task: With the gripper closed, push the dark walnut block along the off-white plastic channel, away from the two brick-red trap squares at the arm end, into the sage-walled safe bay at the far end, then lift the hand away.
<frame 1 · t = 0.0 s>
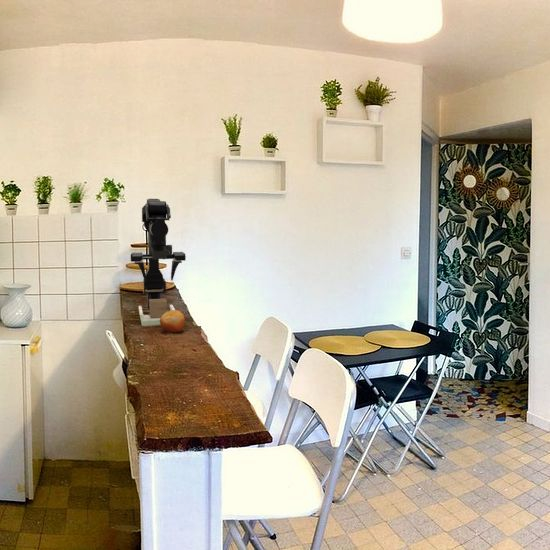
hand: (158, 280, 182), 15 cm above the breakfast bar, fingers open, 9 cm apart
trap channel: (158, 318, 190), on the breakfast bar
fruit: (172, 332, 168), on the breakfast bar
walnut block: (158, 316, 189), point 1 cm above the breakfast bar, touching trap channel
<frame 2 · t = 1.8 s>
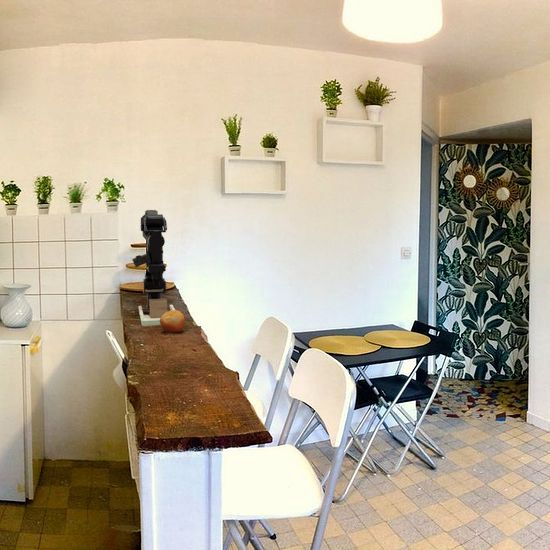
hand: (155, 287, 197), 10 cm above the breakfast bar, fingers closed
nothing on the breakfast bar moved.
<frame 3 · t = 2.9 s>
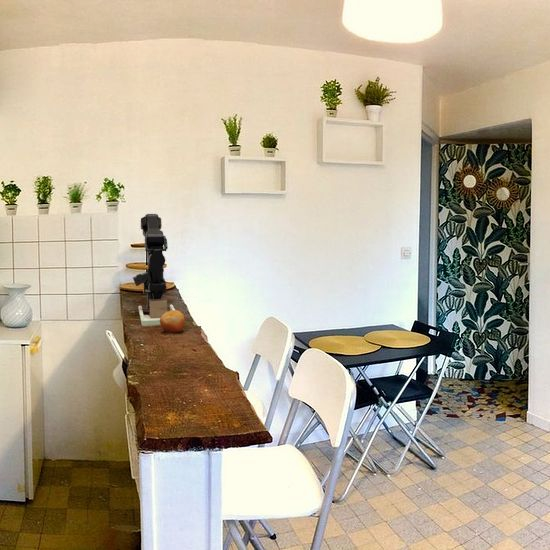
hand: (156, 306, 197), 3 cm above the breakfast bar, fingers closed
nothing on the breakfast bar moved.
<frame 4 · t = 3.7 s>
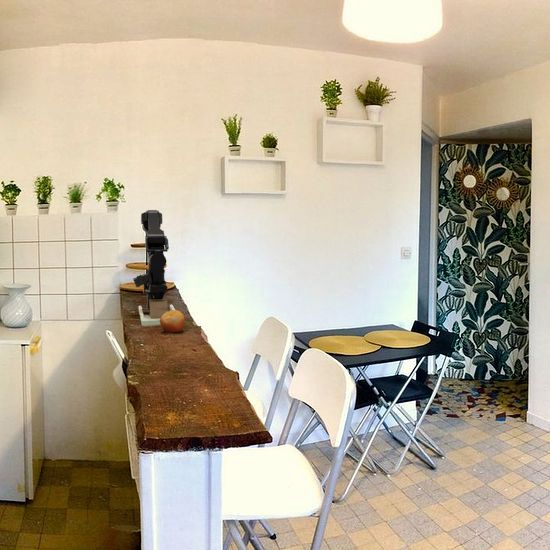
hand: (157, 307, 193), 3 cm above the breakfast bar, fingers closed
walnut block: (158, 316, 188), point 1 cm above the breakfast bar, touching gripper
everything else where it was.
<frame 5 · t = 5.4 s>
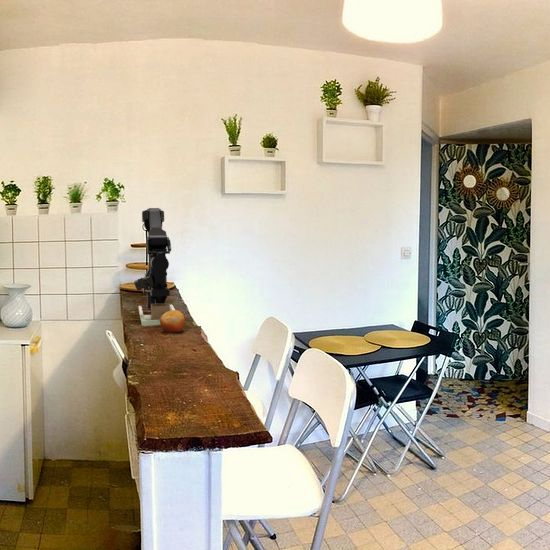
hand: (159, 312, 184), 3 cm above the breakfast bar, fingers closed
walnut block: (160, 321, 180), point 1 cm above the breakfast bar, touching gripper, trap channel
everything else where it was.
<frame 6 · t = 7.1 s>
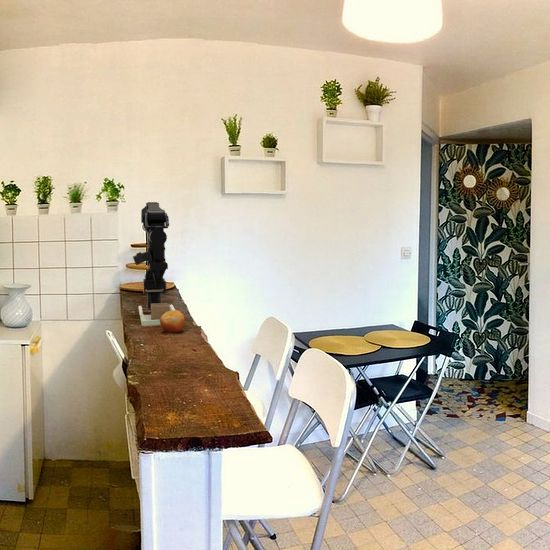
hand: (157, 286, 188), 12 cm above the breakfast bar, fingers closed
walnut block: (160, 321, 180), point 1 cm above the breakfast bar, touching trap channel
everything else where it was.
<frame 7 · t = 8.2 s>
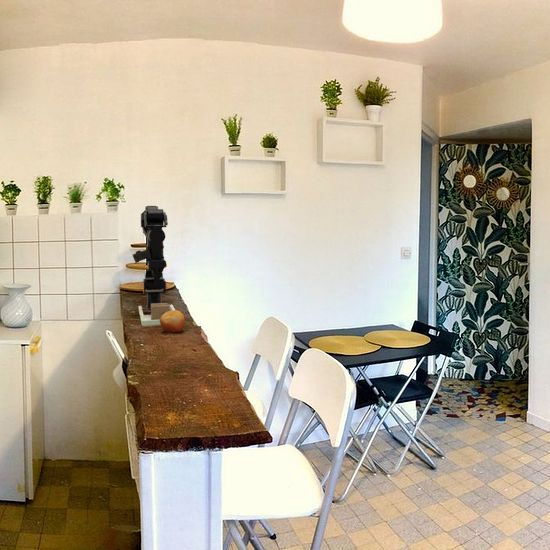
hand: (156, 283, 194), 12 cm above the breakfast bar, fingers closed
nothing on the breakfast bar moved.
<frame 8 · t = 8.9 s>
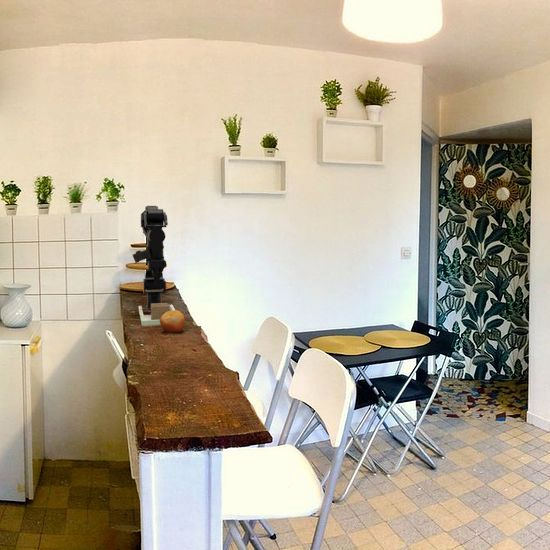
hand: (156, 283, 194), 12 cm above the breakfast bar, fingers closed
nothing on the breakfast bar moved.
at the end: walnut block inside the target area (0.4 cm from its centre), point 0.8 cm above the breakfast bar; walnut block tilted 0°; walnut block moved 9.6 cm from its start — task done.
